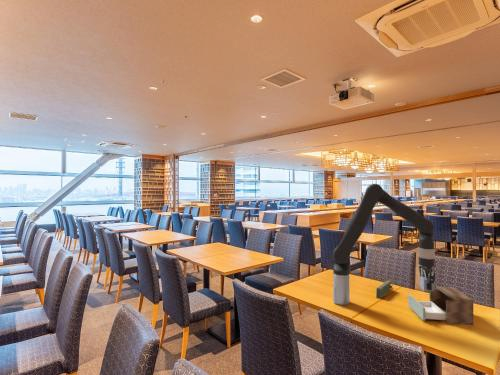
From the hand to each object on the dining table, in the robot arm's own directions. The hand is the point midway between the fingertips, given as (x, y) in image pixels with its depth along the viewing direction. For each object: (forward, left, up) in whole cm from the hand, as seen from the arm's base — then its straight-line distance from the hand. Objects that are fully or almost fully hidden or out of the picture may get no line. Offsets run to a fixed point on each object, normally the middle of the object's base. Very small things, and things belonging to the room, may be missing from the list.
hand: (426, 287), depth 156 cm
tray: (0, 0, -14) cm, 14 cm away
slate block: (0, 0, -1) cm, 1 cm away
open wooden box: (+11, 0, -15) cm, 18 cm away
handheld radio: (-12, +32, -15) cm, 37 cm away
